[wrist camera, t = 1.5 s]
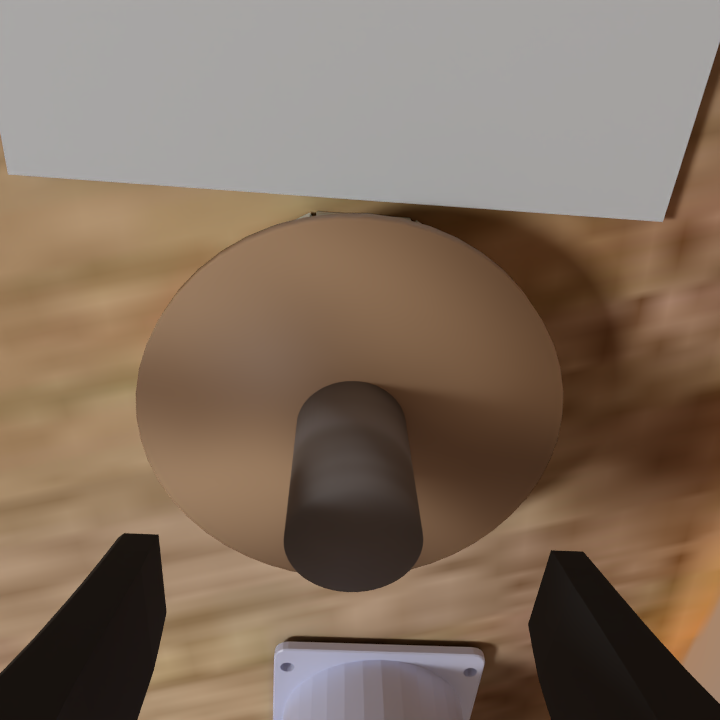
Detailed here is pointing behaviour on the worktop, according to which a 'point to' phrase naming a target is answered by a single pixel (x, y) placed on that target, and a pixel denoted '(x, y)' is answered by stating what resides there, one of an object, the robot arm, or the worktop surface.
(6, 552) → the worktop surface
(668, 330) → the worktop surface
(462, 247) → the walnut lid
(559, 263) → the worktop surface
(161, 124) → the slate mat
